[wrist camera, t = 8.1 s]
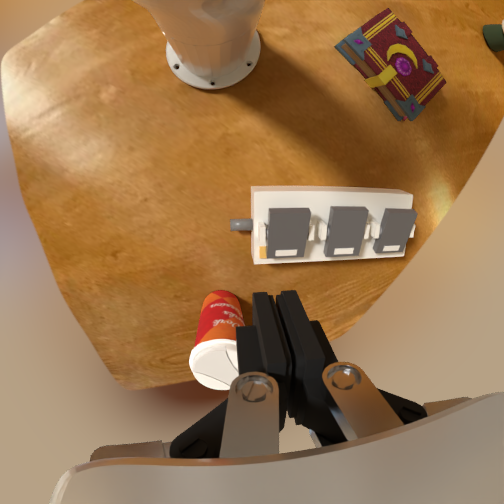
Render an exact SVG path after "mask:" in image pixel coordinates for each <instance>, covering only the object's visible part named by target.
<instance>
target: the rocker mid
mask: <svg viewBox="0 0 504 504" xmlns="http://www.w3.org/2000/svg"><path fill="white" fill-rule="evenodd" d="M368 212H369V210H368V209H367V208H366V207H365V206H330V213H329V220H328V227H327V235H326V240H325V245H324V251H323V253H324V255H325V257H343V256H359V253H360V249H361V244H362V240H363V236H364V231H365V226H366V222H367V217H368Z"/></svg>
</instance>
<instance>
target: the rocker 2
mask: <svg viewBox="0 0 504 504" xmlns="http://www.w3.org/2000/svg"><path fill="white" fill-rule="evenodd" d="M416 217H417V212H416V211H415V210H414V209H397V208H385V211H384V214H383V218H382V221H381V224H380V232H379V238H376V239H375V242H374V245H373V250H374V252H375V254H376V253H395V252H403V250H404V248H405V245H406V243H407V240H408V238H409V235H410V233H411V230H412V228H413V225H414V222H415V220H416Z"/></svg>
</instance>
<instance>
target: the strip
mask: <svg viewBox="0 0 504 504" xmlns="http://www.w3.org/2000/svg"><path fill="white" fill-rule="evenodd" d="M412 201H413V195H412V194H410V193H408V192H405V191H403V190H400V189H385V188H365V187H337V186H251V219H230V226H231V231H244V230H251V253H252V257H253V261H254V264H270V263H291V262H311V261H330V260H349V259H366V258H384V257H400V256H404V253H405V248H404V250H403V252H395V253H376V254H375V252H374V250H373V245H374V242H375V239H376V238H379V232H380V224H381V221H382V218H383V214H384V211H385V208H397V209H412ZM330 206H365V207H366V208H367V209H368V210H369V212H368V217H367V222H366V226H365V231H364V236H363V240H362V244H361V249H360V253H359V256H343V257H325V255H324V253H323V251H324V245H325V240H326V235H327V227H328V220H329V213H330ZM269 208H309V209H310V211H311V218H310V224H309V230H308V236H307V242H306V247H305V253H304V257H294V258H272V259H267V258H266V239H267V238H266V228H267V225H268V210H269ZM414 230H415V224H414V225H413V228H412V230H411V233H410V235H409V237H410V238H411V237H413V236H414ZM405 247H406V245H405Z"/></svg>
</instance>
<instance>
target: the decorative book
mask: <svg viewBox="0 0 504 504" xmlns="http://www.w3.org/2000/svg"><path fill="white" fill-rule="evenodd" d="M411 33H412V31H411V30H410V28H409V27H408V26H407V25H406V24H405V22H401V21H400V20H399V19H398V18H397V17H396V16H395V15H394V14H393V12H392V11H391V10H390V9H389V8H387V9H386V10H384V11H383V12H381V13H379V14H378V15H376V16H375V17H374V18H372V19H371V20H369V21H368V22H367V23H365V24H364V25H363V26H362V27H360V28H358V29H357V30H356V31H354V32H353V33H352V34H350V35H348V36H347V37H346V38H344V39H343V40H342V41H341V42H339V43H338V44H337V45H336V46H334V47H335V48H336V49H337V50H338V51H339V52H340V53H341V54H342V55H343V56H344V57H345V58H346V59H347V60H348V61H349V62H350V64H351V65H354V66H355V67H356V68H357V69H358V70H359V71H360V73H361V74H362V75H363V76H364V77H365V78H366V79H365V80H364V81H365V82H366V83H367V84H368V85H369V86H370V88H374V89H375V90H376V91H377V92H378V94H379V95H380V96H381V97H382V99H383V100H384V103H385V104H386V106H387V107H388V108H389V110H390V111H391V112H392V114H393V115H394V116H395V118H396V119H397V120H398V121H401V120H402V119H403V118H404V119H403V120H404V121H405V120H406V119H407V118H408V119H409V120H410V121H413V120H414V119H415V118H416V117H417V116H418V115H419V114H420V113H421V112H422V110H423V109H424V108H425V105H426V104H427V103H428V102H429V101H430V100H431V99H432V98H433V97H434V95H435V94H436V93H437V92H438V91H439V90H440V89H441V88H442V87H443V86H444V85H445V84H446V81H445V79H444V78H443V76H442V75H441V73H440V72H439V70H438V69H437V67H438V65H437V63H436V62H435V61H434V59H433V58H432V56H431V55H430V56H428V55H427V53H426V52H425V51H424V49H423V48H422V47H421V46H420V44H419V43H418V42H417V40H416V39H415V38H414V37H413V35H412V34H411Z"/></svg>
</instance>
